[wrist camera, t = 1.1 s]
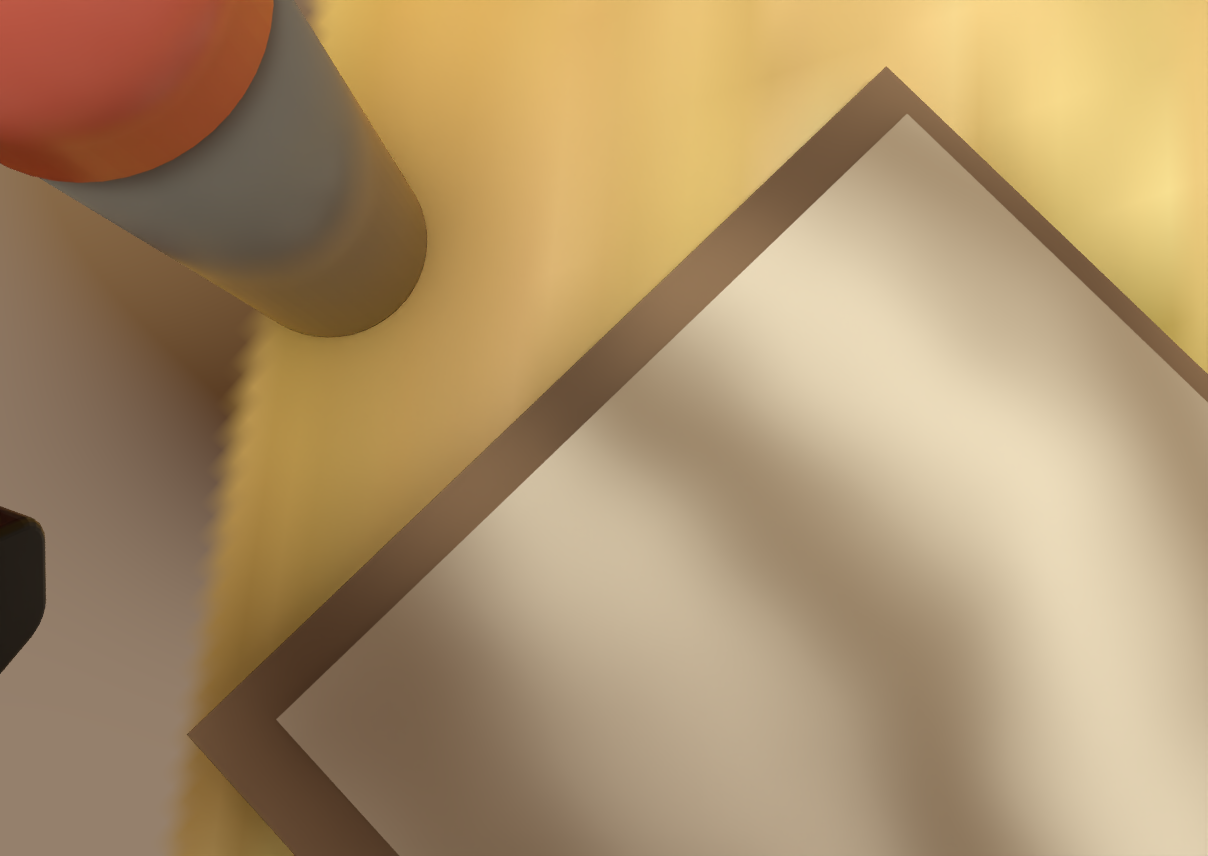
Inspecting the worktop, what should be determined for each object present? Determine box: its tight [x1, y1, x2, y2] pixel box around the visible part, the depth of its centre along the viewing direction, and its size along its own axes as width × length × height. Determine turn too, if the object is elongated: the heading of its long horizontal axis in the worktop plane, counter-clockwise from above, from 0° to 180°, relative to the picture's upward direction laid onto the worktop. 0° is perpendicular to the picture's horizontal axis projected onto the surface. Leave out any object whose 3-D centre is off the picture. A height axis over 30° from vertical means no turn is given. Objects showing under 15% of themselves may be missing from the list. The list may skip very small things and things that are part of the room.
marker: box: [0, 0, 427, 337], centre depth 16 cm, size 4×4×12 cm
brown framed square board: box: [187, 67, 1208, 856], centre depth 20 cm, size 19×19×2 cm
